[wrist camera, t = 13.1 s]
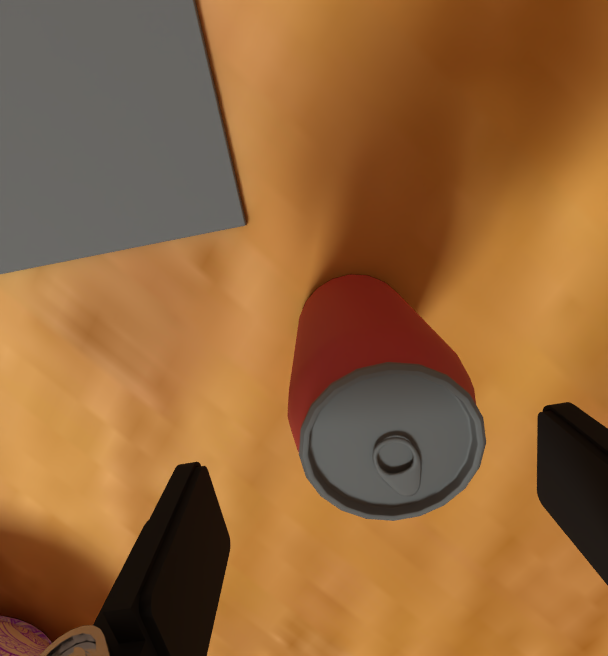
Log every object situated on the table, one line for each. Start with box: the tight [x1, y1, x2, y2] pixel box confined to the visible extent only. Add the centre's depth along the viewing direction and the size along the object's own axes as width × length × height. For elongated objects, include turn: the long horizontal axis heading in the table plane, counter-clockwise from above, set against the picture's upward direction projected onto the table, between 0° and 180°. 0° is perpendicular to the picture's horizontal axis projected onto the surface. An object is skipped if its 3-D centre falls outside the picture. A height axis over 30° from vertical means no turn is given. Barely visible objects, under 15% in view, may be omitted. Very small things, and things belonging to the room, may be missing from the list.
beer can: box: [288, 274, 486, 521], centre depth 16 cm, size 7×7×12 cm
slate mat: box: [0, 0, 247, 274], centre depth 18 cm, size 16×16×1 cm
